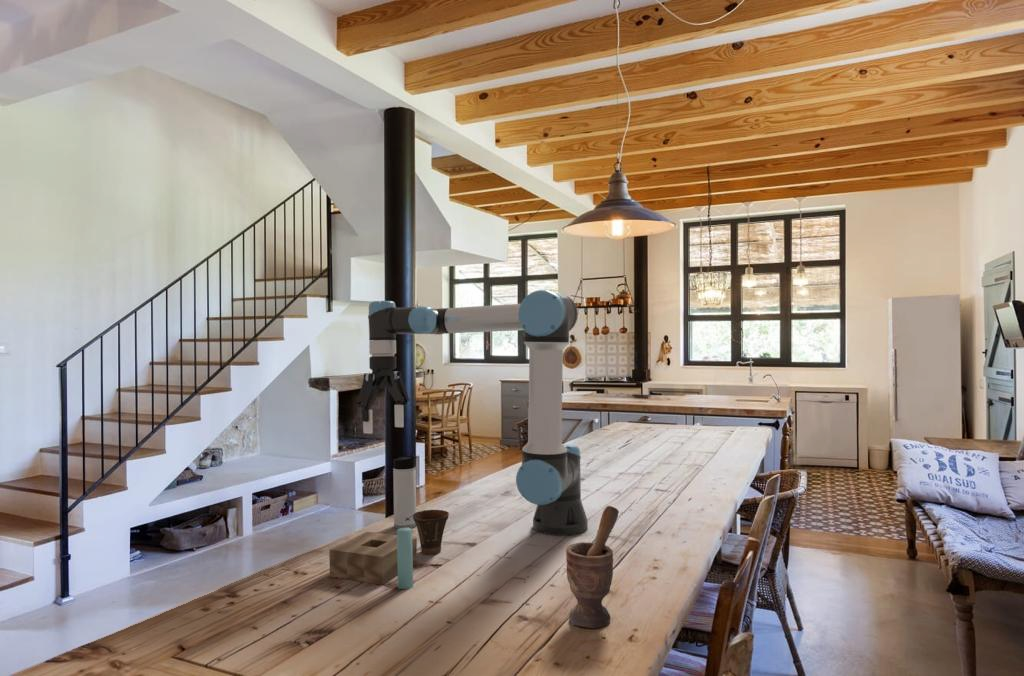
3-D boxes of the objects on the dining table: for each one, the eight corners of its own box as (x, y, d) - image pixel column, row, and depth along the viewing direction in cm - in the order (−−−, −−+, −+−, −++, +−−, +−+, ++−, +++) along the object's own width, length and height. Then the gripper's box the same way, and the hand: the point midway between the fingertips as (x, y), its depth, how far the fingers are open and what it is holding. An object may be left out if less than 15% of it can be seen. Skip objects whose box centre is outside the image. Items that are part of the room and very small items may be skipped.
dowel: (415, 584, 134) (414, 528, 134) (407, 590, 131) (406, 532, 131) (403, 582, 135) (402, 527, 135) (394, 588, 132) (393, 531, 132)
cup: (458, 543, 159) (454, 505, 158) (443, 559, 150) (438, 520, 149) (427, 541, 162) (422, 504, 161) (410, 557, 153) (406, 518, 152)
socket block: (416, 563, 147) (416, 537, 147) (382, 584, 134) (382, 556, 134) (367, 556, 152) (366, 531, 152) (329, 576, 139) (329, 549, 139)
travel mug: (413, 530, 173) (411, 457, 173) (390, 529, 174) (389, 457, 175) (420, 523, 179) (419, 453, 179) (399, 522, 181) (398, 453, 181)
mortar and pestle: (584, 601, 124) (582, 500, 124) (626, 609, 120) (624, 505, 120) (559, 624, 114) (557, 514, 114) (604, 634, 110) (602, 520, 110)
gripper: (399, 354, 191) (401, 424, 190) (341, 356, 169) (343, 435, 168) (419, 354, 187) (421, 425, 187) (362, 356, 165) (364, 436, 165)
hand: (384, 430), depth 178 cm, fingers open, 13 cm apart
